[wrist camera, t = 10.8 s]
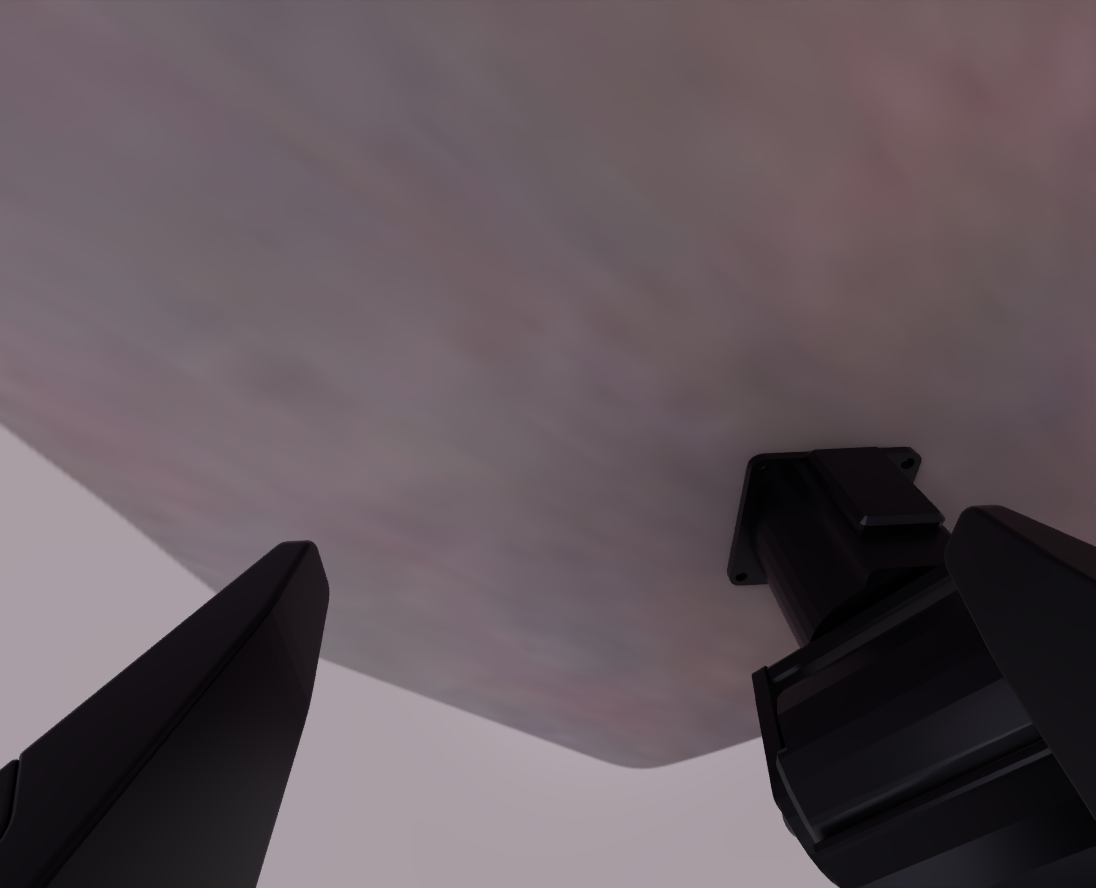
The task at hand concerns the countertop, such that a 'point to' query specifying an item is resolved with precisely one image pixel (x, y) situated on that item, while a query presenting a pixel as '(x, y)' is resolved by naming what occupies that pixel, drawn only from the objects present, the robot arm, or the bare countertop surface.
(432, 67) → the countertop surface
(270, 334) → the countertop surface
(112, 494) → the countertop surface
